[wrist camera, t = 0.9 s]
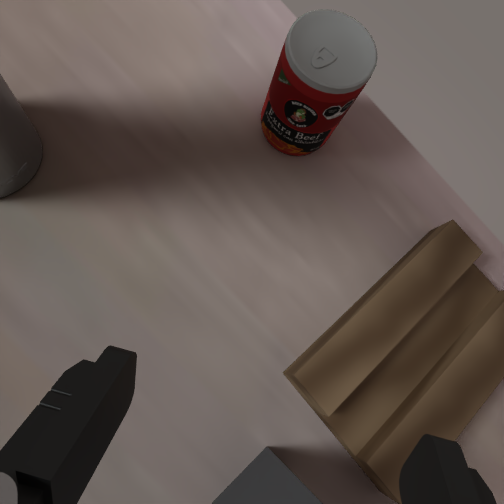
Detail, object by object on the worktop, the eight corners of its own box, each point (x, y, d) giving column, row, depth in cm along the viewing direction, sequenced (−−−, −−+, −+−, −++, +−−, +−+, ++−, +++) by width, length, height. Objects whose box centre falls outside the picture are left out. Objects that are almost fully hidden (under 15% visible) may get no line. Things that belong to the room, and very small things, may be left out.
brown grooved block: (282, 372, 34) (294, 374, 30) (430, 230, 40) (452, 219, 37) (380, 491, 33) (403, 506, 29) (515, 325, 39) (546, 322, 36)
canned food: (247, 137, 39) (271, 58, 29) (277, 82, 42) (310, -8, 31) (311, 171, 40) (359, 105, 29) (338, 115, 42) (390, 36, 32)
